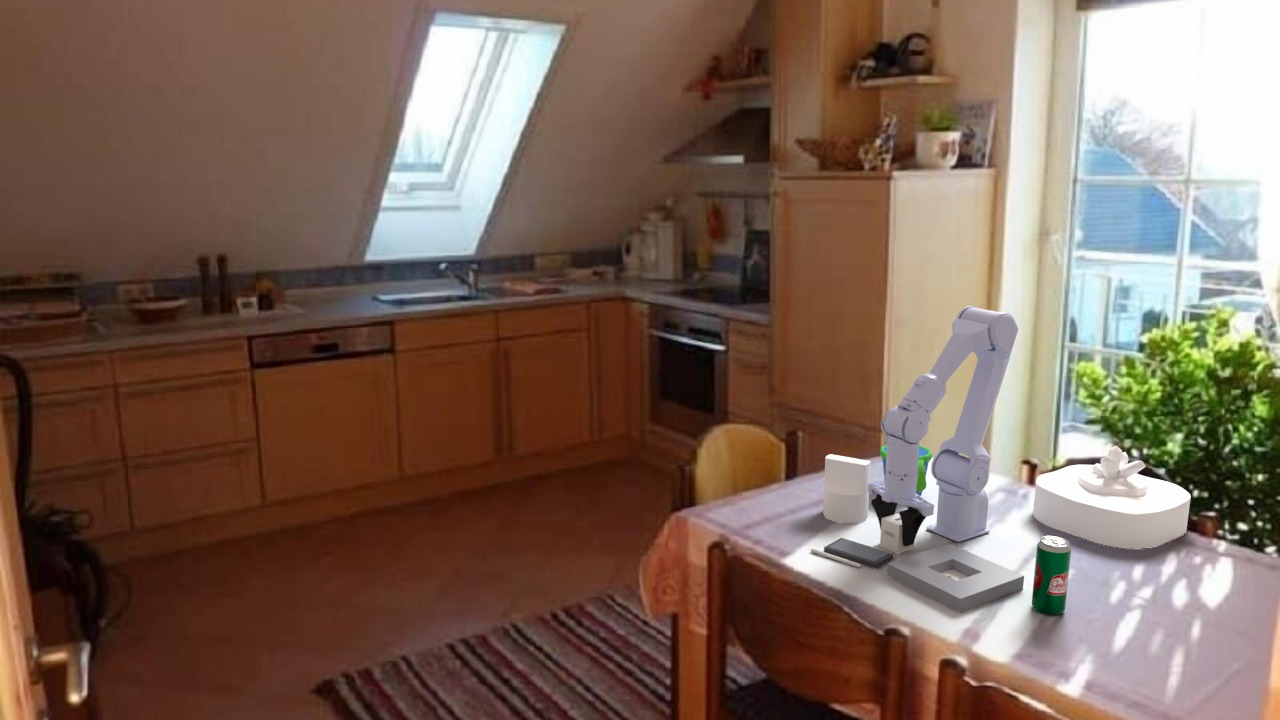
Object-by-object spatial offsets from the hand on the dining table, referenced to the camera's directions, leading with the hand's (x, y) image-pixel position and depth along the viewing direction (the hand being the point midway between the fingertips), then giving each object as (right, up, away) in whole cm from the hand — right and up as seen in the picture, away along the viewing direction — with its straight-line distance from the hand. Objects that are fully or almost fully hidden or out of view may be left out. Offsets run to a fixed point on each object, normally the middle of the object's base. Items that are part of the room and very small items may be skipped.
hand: (897, 539), depth 182 cm
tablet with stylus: (-10, -2, -4) cm, 10 cm away
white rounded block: (-7, +2, +16) cm, 17 cm away
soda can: (+18, -7, -24) cm, 31 cm away
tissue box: (+46, +1, +13) cm, 48 cm away
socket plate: (+6, -5, -14) cm, 16 cm away
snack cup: (+9, +4, +27) cm, 29 cm away
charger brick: (0, -1, 0) cm, 2 cm away
